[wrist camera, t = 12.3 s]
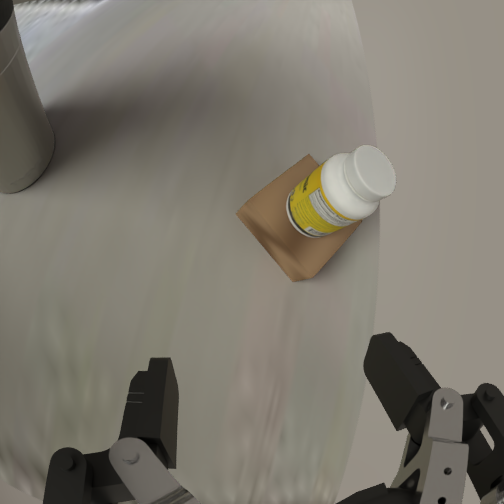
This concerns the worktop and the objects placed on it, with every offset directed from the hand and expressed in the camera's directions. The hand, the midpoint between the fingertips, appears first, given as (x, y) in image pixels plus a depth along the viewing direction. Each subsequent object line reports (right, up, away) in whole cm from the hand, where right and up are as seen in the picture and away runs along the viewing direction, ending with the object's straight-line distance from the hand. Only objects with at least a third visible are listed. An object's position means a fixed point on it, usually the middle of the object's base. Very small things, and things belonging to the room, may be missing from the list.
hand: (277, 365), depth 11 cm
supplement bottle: (+4, +8, +17) cm, 19 cm away
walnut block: (+3, +8, +21) cm, 22 cm away
